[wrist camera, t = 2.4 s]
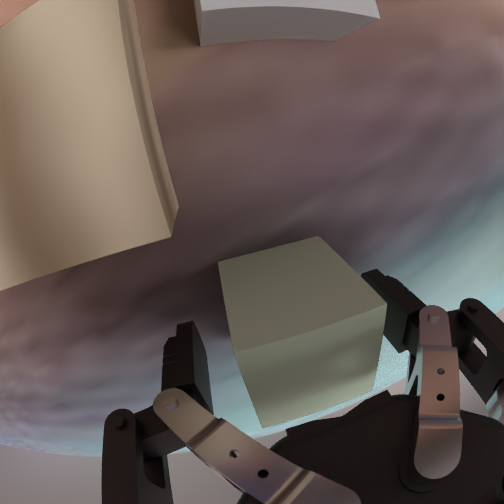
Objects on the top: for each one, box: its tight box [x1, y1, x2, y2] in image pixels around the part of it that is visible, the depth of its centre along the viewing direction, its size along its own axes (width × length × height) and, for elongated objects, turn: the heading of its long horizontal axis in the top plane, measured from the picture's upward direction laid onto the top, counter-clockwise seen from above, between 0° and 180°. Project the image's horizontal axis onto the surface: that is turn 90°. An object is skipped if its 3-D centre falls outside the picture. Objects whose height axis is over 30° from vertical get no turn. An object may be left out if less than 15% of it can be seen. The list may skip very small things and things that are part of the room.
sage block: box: [218, 236, 387, 428], centre depth 12 cm, size 5×5×6 cm
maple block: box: [0, 0, 179, 291], centre depth 8 cm, size 10×10×4 cm
